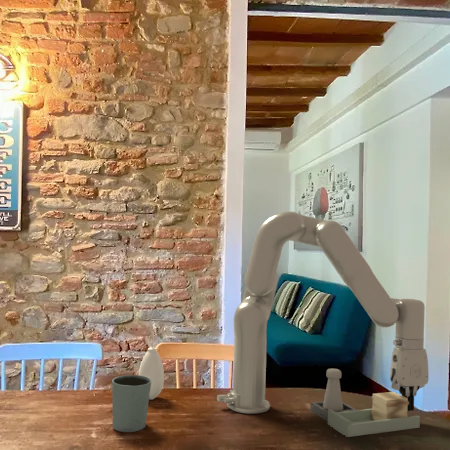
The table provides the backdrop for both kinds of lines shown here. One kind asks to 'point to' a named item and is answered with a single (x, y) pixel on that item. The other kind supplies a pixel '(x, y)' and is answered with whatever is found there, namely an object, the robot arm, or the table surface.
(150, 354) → the white vase
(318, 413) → the grey square frame
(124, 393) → the green cup
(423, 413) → the table surface
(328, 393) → the salt shaker
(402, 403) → the crate
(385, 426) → the bay
